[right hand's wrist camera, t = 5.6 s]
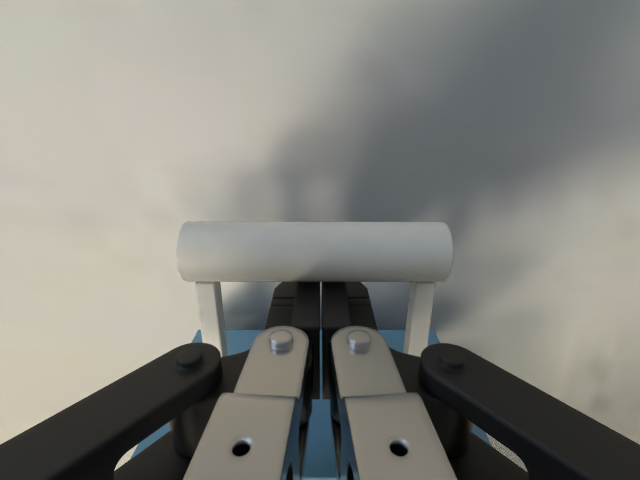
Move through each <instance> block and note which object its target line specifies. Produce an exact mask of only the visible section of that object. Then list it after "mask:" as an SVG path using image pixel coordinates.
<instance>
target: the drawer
mask: <svg viewBox="0 0 640 480" xmlns="http://www.w3.org/2000/svg"><path fill="white" fill-rule="evenodd" d="M453 258H454V247H453V239H452V235H451V231H450V229H449V227H448V225H447V224H446V223H444V222H186V223H184V224H183V225H182V226H181V228H180V231H179V234H178V238H177V244H176V261H177V267H178V271H179V274H180V276H181V278H182V279H183V280H185V281H187V282H195V288H196V296H197V303H198V311H199V318H200V326H201V330H198V332H197V333H196V335H195V337H194V339H193V341H192V343H208V344H211V345H213V346H215V347H216V348H218V350H219V351H220V354H221V357H225V356H229V355H234V354H238V353H242V352H244V351H247V350H249V349H251V347H252V344H253V342H254V339H255V338H256V336H257V335H258V334H259V333H261V332H262V331H264V330H225V323H224V314H223V304H222V295H221V285H220V282H410V291H409V301H408V310H407V320H406V330H378V332H379V333H381V334H382V335H383V336H384V338H385V339H386V342H387V344H388V346H389V347H390V348H392V349H394V350H396V351H399V352H401V353H405V354H409V355H414V356H419V357H421V353H422V351H423V350H424V349H425V348H426V347H428V346H430V345H433V344H438V343H440V342H439V340H438V338H437V336H436V334H435V332H434V330H430V322H431V315H432V307H433V299H434V292H435V282H443V281H446V280H447V279H448V278H449V276H450V274H451V270H452V266H453ZM169 431H170V425H169V422H168V423H167V424H165V425H164V426H163V427H161V428H160V429H158V430H157V431H155V432H154V433H153V434H151V435H150V436H148V437H147V438H146V439H144V440H143V441H141V442H140V443H139V444H138V446H137V448H136V450H135V451H134V453H133V455H132V457H131V459H132V458H133V457H135V456H136V455H137V454H139V453H140V452H142V451H143V450H144V449H146V448H147V447H148V446H150V445H151V444H153V443H154V442H155V441H157V440H158V439H159V438H161V437H162V436H164V435H165V434H166V433H168V432H169ZM472 433H474V434H475V435H476V436H478V437H479V438H481V439H482V440H483V441H485V442H486V443H487V444H489V445H490V446H492V445H491V443H490V441H489V439H488V437H487V435H486V433H485V431H483V430H482V429H480V428H479V427H477V426H476V425H475V424H473V428H472ZM131 459H130V460H131ZM303 480H337V479H336V471H335V462H334V454H333V446H332V437H331V429H330V399H322V330H320V399H313V400H312V413H311V416H310V429H309V437H308V446H307V454H306V462H305V471H304V479H303Z"/></svg>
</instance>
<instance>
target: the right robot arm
mask: <svg viewBox="0 0 640 480" xmlns="http://www.w3.org/2000/svg"><path fill="white" fill-rule="evenodd" d="M313 399H320V282H281V283H280V284H279V285H278V286H277V287H276V288H275V290H274V294H273V299H272V303H271V307H270V311H269V315H268V319H267V324H266V328H265V330H264V331H262V332H261V333H259V334H258V335H257V336H256V338H255V339H254V342H253V344H252V347H251V349H249V350H247V351H244V352H242V353H238V354H234V355H229V356H225V357H221V354H220V351H219V350H218V348H216V347H215V346H213V345H211V344H208V343H190V344H185V345H182V346H179V347H177V348H175V349H173V350H171V351H169V352H168V353H166V354H164V355H162V356H160V357H159V358H157V359H155V360H153V361H151V362H149V363H148V364H146V365H144V366H142V367H140V368H139V369H137V370H135V371H133V372H131V373H130V374H128V375H126V376H124V377H122V378H120V379H119V380H117V381H115V382H113V383H111V384H110V385H108V386H106V387H104V388H102V389H101V390H99V391H97V392H95V393H93V394H92V395H90V396H88V397H86V398H84V399H82V400H81V401H79V402H77V403H75V404H73V405H72V406H70V407H68V408H66V409H64V410H63V411H61V412H59V413H57V414H55V415H53V416H52V417H50V418H48V419H46V420H44V421H43V422H41V423H39V424H37V425H35V426H34V427H32V428H30V429H28V430H26V431H24V432H23V433H21V434H19V435H17V436H15V437H14V438H12V439H10V440H8V441H6V442H5V443H3V444H1V445H0V480H303V479H304V471H305V462H306V454H307V446H308V437H309V429H310V416H311V413H312V400H313ZM322 399H330V429H331V437H332V446H333V454H334V462H335V471H336V479H337V480H640V445H639V444H637V443H635V442H634V441H632V440H630V439H628V438H626V437H625V436H623V435H621V434H619V433H617V432H616V431H614V430H612V429H610V428H608V427H606V426H605V425H603V424H601V423H599V422H597V421H596V420H594V419H592V418H590V417H588V416H587V415H585V414H583V413H581V412H579V411H577V410H576V409H574V408H572V407H570V406H568V405H567V404H565V403H563V402H561V401H559V400H558V399H556V398H554V397H552V396H550V395H549V394H547V393H545V392H543V391H541V390H539V389H538V388H536V387H534V386H532V385H530V384H529V383H527V382H525V381H523V380H521V379H520V378H518V377H516V376H514V375H512V374H510V373H509V372H507V371H505V370H503V369H501V368H500V367H498V366H496V365H494V364H492V363H491V362H489V361H487V360H485V359H483V358H481V357H480V356H478V355H476V354H474V353H472V352H471V351H469V350H467V349H465V348H463V347H460V346H457V345H453V344H446V343H438V344H433V345H430V346H428V347H426V348H425V349H424V350H423V351H422V353H421V357H419V356H414V355H409V354H405V353H401V352H399V351H396V350H394V349H392V348H390V347H389V346H388V344H387V342H386V339H385V338H384V336H383V335H382V334H381V333H379V332H378V330H377V326H376V322H375V318H374V314H373V310H372V307H371V302H370V299H369V294H368V290H367V288H366V287H365V286H364V285H363V284H362V283H361V282H322ZM168 422H169V425H170V431H169V432H168V433H166V434H165V435H164V436H162V437H161V438H159V439H158V440H157V441H155V442H154V443H153V444H151V445H150V446H148V447H147V448H146V449H144V450H143V451H142V452H140V453H139V454H137V455H136V456H135V457H133V458H132V459H131V460H129V461H128V462H126V463H125V464H124V465H122V466H121V467H120V468H118V469H117V470H115V471H114V469H115V467H116V465H117V463H118V461H119V460H120V458H121V457H122V456H123V455H124V454H125V453H126V452H127V451H129V450H130V449H131V448H133V447H134V446H136V445H137V444H138V443H140V442H141V441H143V440H144V439H146V438H147V437H148V436H150V435H151V434H153V433H154V432H155V431H157V430H158V429H160V428H161V427H163V426H164V425H165V424H167V423H168ZM473 424H475V425H476V426H477V427H479V428H480V429H482V430H483V431H485V432H486V433H487V434H489V435H490V436H492V437H493V438H494V439H496V440H497V441H499V442H500V443H502V444H503V445H504V446H506V447H507V448H509V449H510V450H511V451H513V452H514V453H515V454H516V455H518V456H519V458H520V459H521V460H522V461H523V463H524V464H525V466H526V468H527V470H528V473H527V472H526V471H525V470H523V469H522V468H520V467H519V466H518V465H516V464H515V463H514V462H512V461H511V460H509V459H508V458H507V457H505V456H504V455H503V454H501V453H500V452H498V451H497V450H496V449H494V448H493V447H492V446H490V445H489V444H487V443H486V442H485V441H483V440H482V439H481V438H479V437H478V436H476V435H475V434H474V433H472V428H473Z"/></svg>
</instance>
